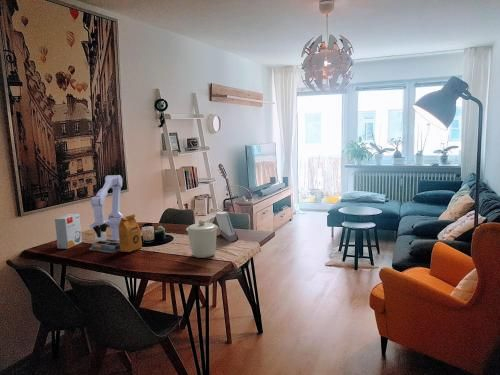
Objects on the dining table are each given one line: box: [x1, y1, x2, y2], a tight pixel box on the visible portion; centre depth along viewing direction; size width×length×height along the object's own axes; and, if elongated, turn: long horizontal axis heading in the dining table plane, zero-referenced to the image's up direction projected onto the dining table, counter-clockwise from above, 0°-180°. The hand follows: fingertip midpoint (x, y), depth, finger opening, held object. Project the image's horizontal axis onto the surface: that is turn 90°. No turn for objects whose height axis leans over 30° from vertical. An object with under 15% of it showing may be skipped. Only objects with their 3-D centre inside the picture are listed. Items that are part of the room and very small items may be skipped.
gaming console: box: [214, 211, 239, 243], centre depth 258 cm, size 23×8×20 cm, turn 21°
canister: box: [185, 219, 219, 259], centre depth 223 cm, size 18×18×21 cm
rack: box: [88, 240, 120, 254], centre depth 245 cm, size 12×20×4 cm, turn 64°
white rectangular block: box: [94, 231, 108, 241], centre depth 246 cm, size 3×7×5 cm, turn 64°
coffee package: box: [118, 213, 143, 253], centre depth 238 cm, size 10×12×22 cm
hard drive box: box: [54, 213, 83, 250], centre depth 255 cm, size 16×8×20 cm, turn 168°
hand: (101, 236), depth 246 cm, fingers closed on white rectangular block, 3 cm apart
